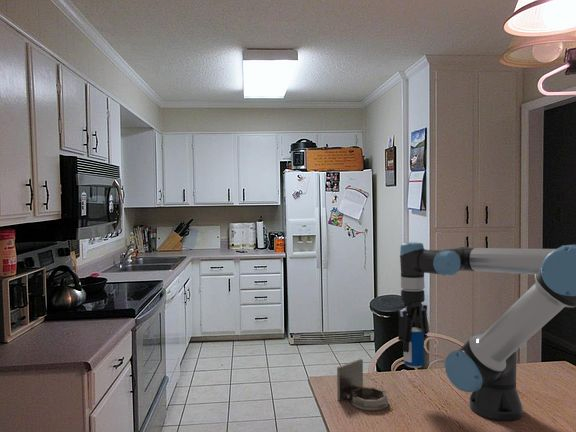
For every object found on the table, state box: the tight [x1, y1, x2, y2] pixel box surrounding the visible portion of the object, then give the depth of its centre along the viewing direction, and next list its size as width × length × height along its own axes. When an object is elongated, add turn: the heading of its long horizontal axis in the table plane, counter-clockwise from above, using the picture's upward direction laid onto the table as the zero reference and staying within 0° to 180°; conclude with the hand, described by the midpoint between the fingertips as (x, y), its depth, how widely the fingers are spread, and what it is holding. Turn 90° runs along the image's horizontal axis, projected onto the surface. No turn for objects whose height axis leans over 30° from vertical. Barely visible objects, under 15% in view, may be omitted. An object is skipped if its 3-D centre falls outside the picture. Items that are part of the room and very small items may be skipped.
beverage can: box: [403, 326, 425, 369], centre depth 150 cm, size 6×6×12 cm
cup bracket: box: [336, 358, 389, 412], centre depth 148 cm, size 14×12×11 cm
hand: (413, 358), depth 150 cm, fingers closed on beverage can, 6 cm apart
